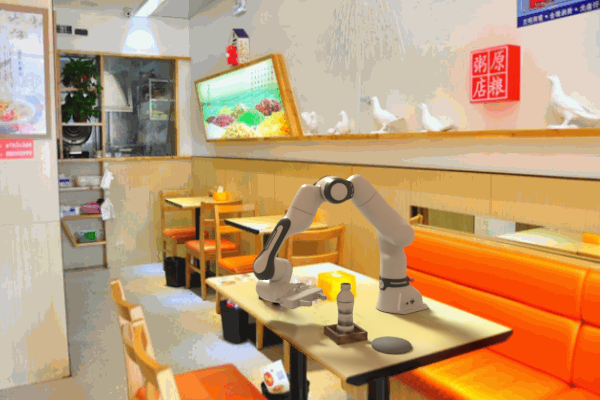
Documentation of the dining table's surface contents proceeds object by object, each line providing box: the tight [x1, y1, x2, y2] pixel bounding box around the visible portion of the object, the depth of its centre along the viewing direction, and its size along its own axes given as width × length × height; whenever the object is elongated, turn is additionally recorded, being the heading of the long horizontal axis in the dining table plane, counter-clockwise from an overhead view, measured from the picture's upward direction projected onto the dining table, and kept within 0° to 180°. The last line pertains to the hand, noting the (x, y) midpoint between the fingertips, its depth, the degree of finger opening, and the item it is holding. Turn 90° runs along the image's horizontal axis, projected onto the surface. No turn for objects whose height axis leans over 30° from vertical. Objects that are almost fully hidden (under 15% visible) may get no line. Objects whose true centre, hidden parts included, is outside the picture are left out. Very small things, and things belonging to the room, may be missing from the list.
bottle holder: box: [323, 321, 369, 346], centre depth 198 cm, size 12×12×3 cm
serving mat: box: [370, 335, 413, 355], centre depth 189 cm, size 14×14×1 cm
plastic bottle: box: [336, 282, 355, 335], centre depth 197 cm, size 6×7×20 cm
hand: (318, 301), depth 204 cm, fingers open, 8 cm apart
